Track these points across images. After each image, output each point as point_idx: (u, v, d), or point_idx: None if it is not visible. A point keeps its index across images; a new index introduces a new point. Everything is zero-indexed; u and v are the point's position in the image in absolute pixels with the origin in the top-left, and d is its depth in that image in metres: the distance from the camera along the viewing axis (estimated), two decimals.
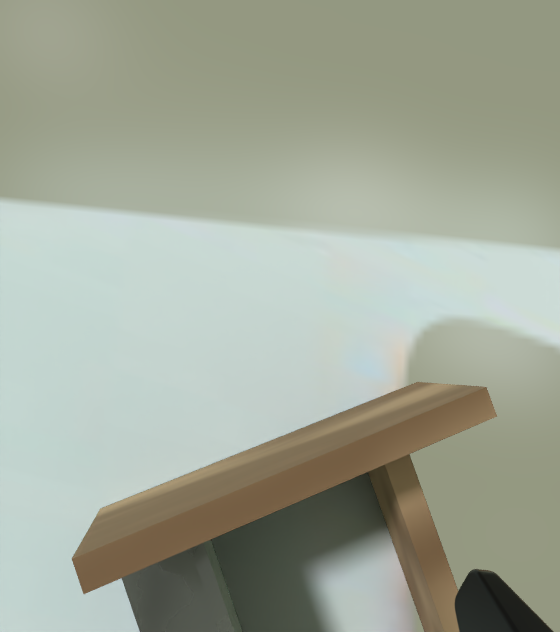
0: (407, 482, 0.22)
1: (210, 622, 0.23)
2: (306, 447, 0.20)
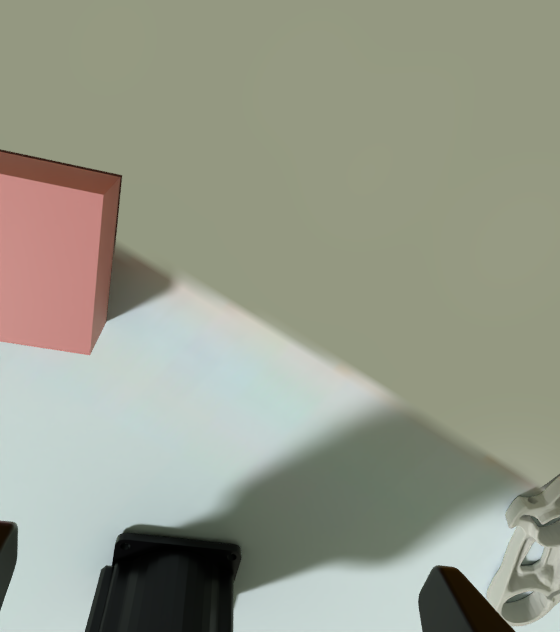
0: None
1: None
2: None
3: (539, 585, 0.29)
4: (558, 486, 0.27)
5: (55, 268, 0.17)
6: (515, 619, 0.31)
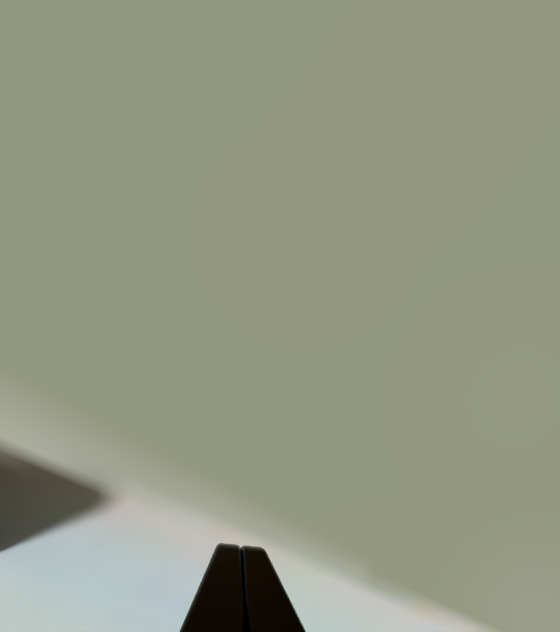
0: None
1: None
2: None
3: None
4: None
5: None
6: None
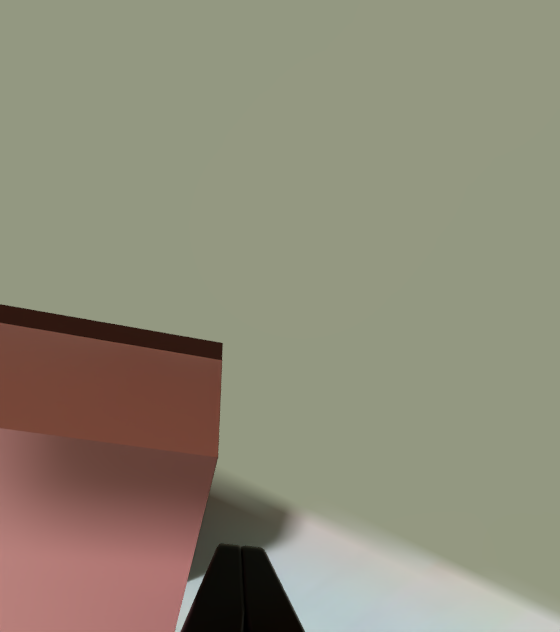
0: None
1: None
2: None
3: None
4: None
5: (92, 590, 0.08)
6: None
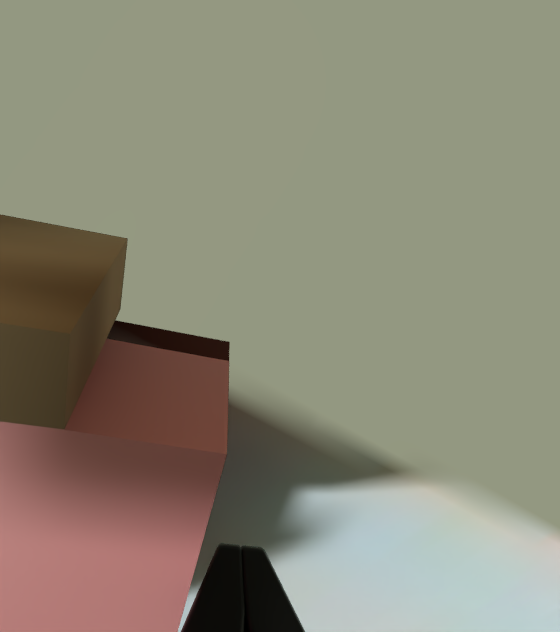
0: None
1: None
2: None
3: None
4: None
5: (100, 583, 0.08)
6: None
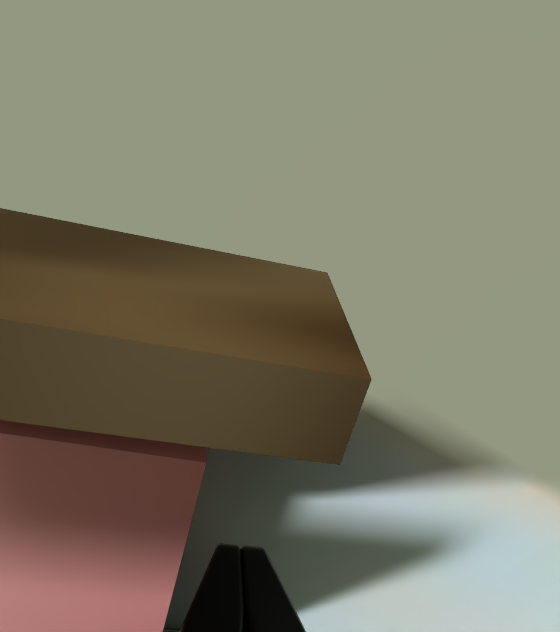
0: None
1: None
2: None
3: None
4: None
5: (73, 600, 0.07)
6: None
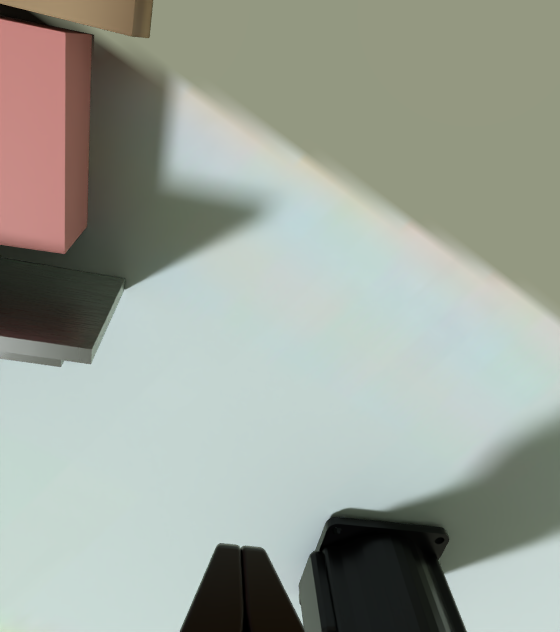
0: None
1: None
2: None
3: None
4: None
5: (14, 137, 0.14)
6: None
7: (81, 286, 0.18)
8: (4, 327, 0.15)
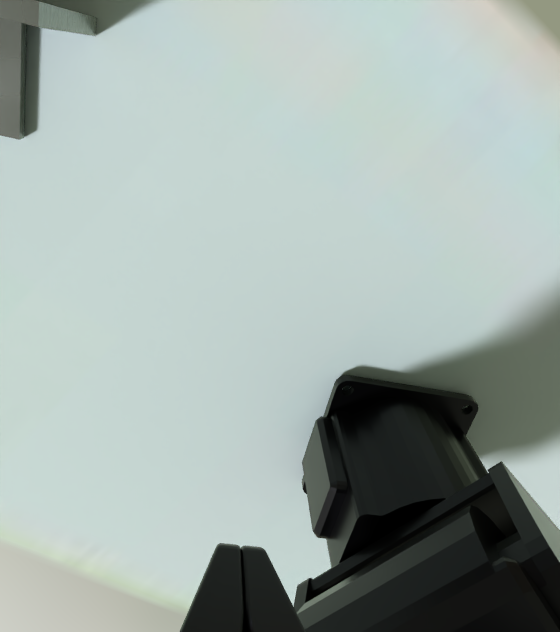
0: None
1: None
2: None
3: None
4: None
5: None
6: None
7: None
8: None
